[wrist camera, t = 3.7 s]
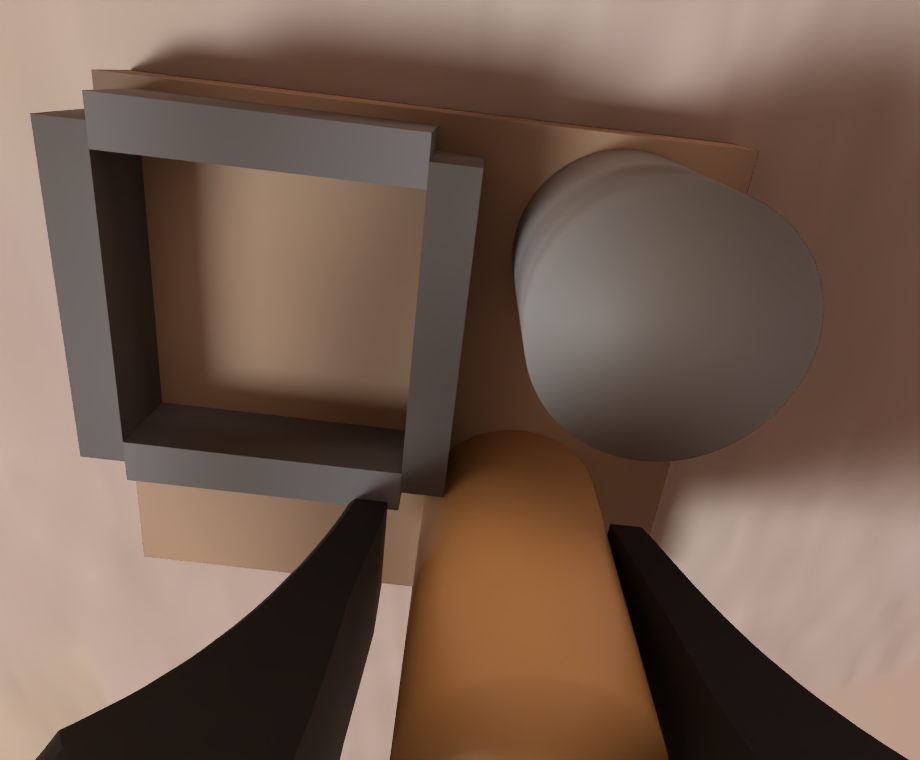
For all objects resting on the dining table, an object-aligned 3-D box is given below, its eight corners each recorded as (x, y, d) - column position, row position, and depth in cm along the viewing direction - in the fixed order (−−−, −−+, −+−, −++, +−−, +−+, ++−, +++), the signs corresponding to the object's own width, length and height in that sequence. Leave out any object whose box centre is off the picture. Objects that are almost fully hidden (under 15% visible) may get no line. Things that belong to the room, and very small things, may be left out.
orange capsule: (611, 440, 13) (701, 693, 8) (577, 580, 15) (634, 872, 9) (432, 420, 13) (399, 660, 8) (417, 562, 15) (380, 848, 9)
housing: (734, 144, 12) (894, 189, 7) (618, 574, 16) (673, 779, 12) (121, 69, 12) (-117, 65, 7) (163, 523, 16) (29, 709, 11)
